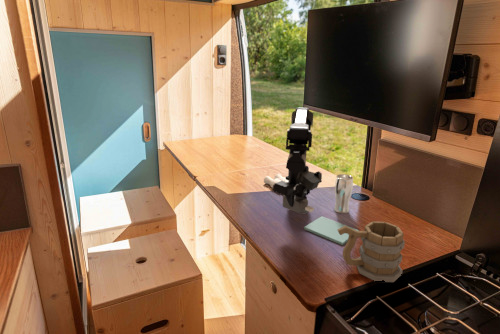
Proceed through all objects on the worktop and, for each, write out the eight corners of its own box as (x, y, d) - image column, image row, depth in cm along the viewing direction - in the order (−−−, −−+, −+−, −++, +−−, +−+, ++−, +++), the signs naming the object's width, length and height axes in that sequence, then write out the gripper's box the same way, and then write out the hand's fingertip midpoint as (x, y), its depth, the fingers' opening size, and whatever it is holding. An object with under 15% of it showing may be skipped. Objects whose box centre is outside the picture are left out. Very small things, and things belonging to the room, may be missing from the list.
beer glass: (329, 208, 147) (332, 175, 142) (343, 205, 150) (346, 173, 145) (339, 215, 141) (342, 181, 136) (353, 212, 144) (357, 178, 139)
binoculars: (280, 180, 178) (280, 172, 176) (299, 191, 165) (300, 182, 163) (263, 184, 173) (263, 175, 171) (281, 196, 160) (282, 186, 158)
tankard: (391, 258, 113) (398, 216, 108) (406, 283, 101) (414, 238, 96) (329, 256, 114) (333, 215, 109) (337, 281, 102) (342, 236, 97)
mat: (304, 229, 130) (304, 226, 130) (321, 218, 139) (321, 216, 138) (342, 245, 120) (342, 242, 120) (358, 232, 128) (359, 230, 128)
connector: (280, 205, 126) (280, 195, 124) (287, 202, 128) (287, 192, 127) (308, 217, 118) (309, 206, 116) (315, 213, 120) (316, 202, 119)
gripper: (300, 176, 106) (297, 221, 112) (332, 162, 119) (328, 203, 124) (272, 167, 114) (271, 210, 119) (305, 155, 126) (303, 194, 132)
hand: (295, 204), depth 123 cm, fingers closed on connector, 4 cm apart
